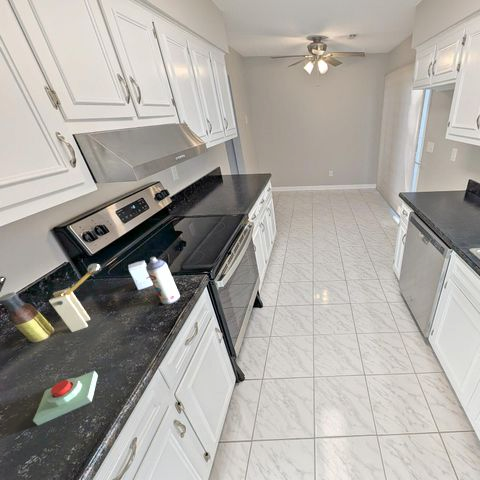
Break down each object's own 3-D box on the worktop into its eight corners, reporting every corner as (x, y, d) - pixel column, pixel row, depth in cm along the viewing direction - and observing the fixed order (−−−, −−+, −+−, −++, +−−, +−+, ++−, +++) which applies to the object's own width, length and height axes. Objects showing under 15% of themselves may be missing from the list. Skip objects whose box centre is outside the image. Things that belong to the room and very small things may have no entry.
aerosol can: (158, 300, 104) (139, 259, 94) (175, 291, 108) (158, 251, 99) (165, 307, 100) (145, 265, 90) (182, 297, 104) (165, 256, 95)
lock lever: (104, 265, 90) (94, 259, 88) (103, 270, 88) (91, 264, 85) (66, 300, 89) (54, 295, 87) (63, 306, 86) (51, 301, 84)
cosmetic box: (139, 292, 109) (127, 269, 104) (138, 287, 113) (127, 264, 107) (155, 286, 112) (144, 264, 106) (154, 282, 116) (144, 259, 110)
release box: (98, 375, 75) (91, 366, 73) (91, 401, 68) (84, 393, 66) (49, 395, 71) (41, 386, 69) (37, 425, 64) (28, 417, 62)
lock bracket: (100, 315, 98) (79, 283, 90) (96, 329, 92) (73, 295, 84) (70, 325, 94) (46, 292, 87) (64, 340, 88) (37, 306, 81)
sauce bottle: (48, 330, 93) (14, 287, 83) (61, 332, 92) (28, 289, 82) (27, 345, 87) (-13, 301, 78) (40, 347, 86) (2, 303, 77)
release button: (73, 381, 70) (70, 377, 69) (70, 392, 67) (66, 388, 66) (56, 388, 68) (53, 384, 68) (52, 400, 66) (48, 396, 65)
